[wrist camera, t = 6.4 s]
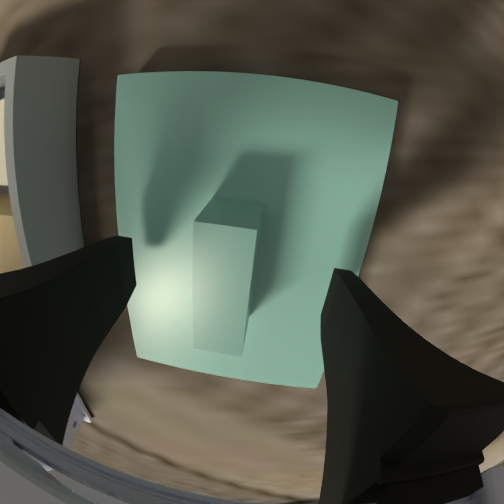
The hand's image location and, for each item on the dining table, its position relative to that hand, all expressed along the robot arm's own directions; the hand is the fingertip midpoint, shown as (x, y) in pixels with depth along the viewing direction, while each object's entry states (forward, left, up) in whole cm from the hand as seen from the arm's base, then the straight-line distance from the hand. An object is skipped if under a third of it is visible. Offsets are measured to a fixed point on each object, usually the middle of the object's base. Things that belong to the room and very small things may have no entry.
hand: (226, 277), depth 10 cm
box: (+2, +12, -3) cm, 12 cm away
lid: (0, 0, -3) cm, 3 cm away
